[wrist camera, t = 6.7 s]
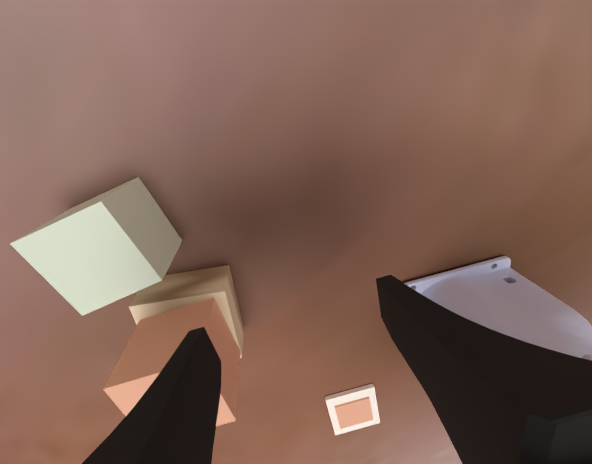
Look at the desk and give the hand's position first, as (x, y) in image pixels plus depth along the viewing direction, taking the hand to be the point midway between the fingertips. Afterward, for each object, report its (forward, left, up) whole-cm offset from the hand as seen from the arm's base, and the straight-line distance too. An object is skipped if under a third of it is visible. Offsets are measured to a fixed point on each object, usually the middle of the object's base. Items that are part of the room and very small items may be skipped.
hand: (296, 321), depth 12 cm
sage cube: (+10, -3, -10) cm, 14 cm away
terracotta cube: (+8, +5, -7) cm, 11 cm away
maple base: (+8, +5, -10) cm, 14 cm away
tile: (-2, +22, -10) cm, 24 cm away
